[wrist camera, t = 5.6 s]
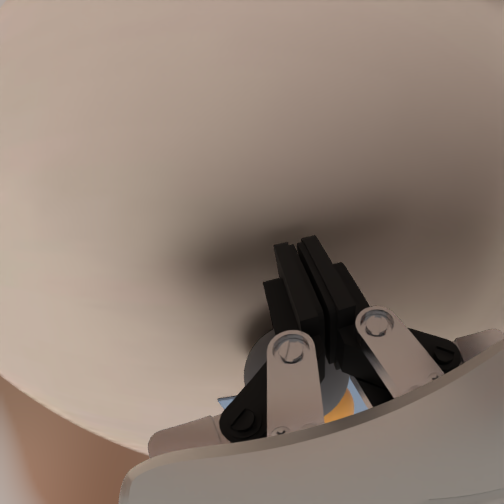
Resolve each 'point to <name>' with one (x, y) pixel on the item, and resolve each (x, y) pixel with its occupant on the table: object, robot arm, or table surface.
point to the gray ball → (330, 386)
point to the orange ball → (341, 408)
